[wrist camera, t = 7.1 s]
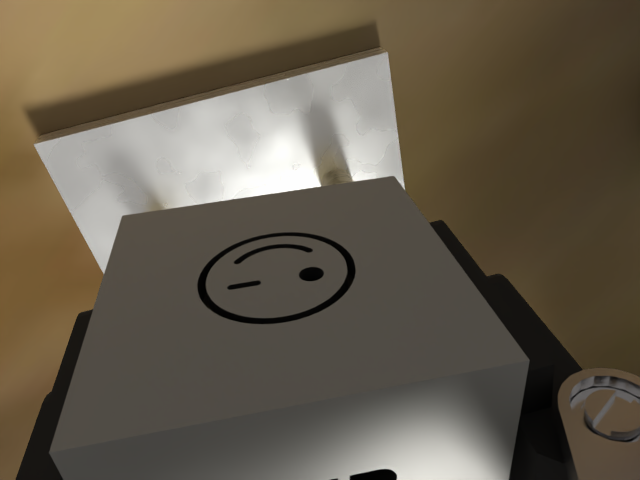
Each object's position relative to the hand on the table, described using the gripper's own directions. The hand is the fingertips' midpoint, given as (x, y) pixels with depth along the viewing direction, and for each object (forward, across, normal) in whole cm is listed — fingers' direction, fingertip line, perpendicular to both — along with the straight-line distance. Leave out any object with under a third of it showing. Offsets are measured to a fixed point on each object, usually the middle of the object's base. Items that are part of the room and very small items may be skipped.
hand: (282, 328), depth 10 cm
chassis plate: (+14, +1, +8) cm, 16 cm away
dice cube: (+1, 0, 0) cm, 1 cm away
